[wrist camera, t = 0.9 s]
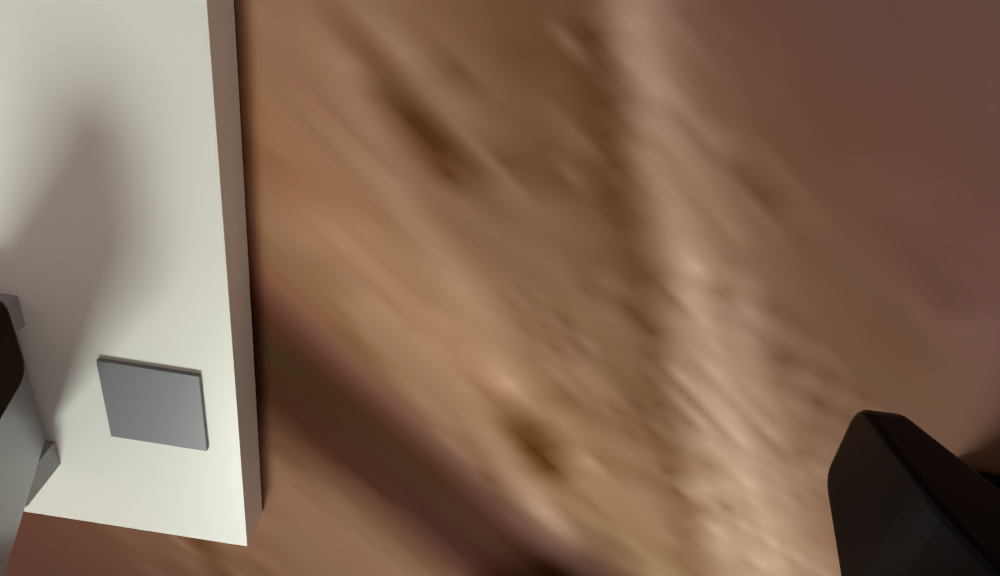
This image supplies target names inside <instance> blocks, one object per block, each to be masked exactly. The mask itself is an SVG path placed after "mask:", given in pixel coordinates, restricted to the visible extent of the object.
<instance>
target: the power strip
mask: <svg viewBox="0 0 1000 576" xmlns="http://www.w3.org/2000/svg"><path fill="white" fill-rule="evenodd" d="M0 300H1V301H3V302H4V304H5V305H6V306H7V307H8V309H9V312H10V315H11V318H12V321H13V325H14V328H15V331H16V334H17V337H19V341H20V345H21V348H22V352H23V356H24V360H25V363H26V367H27V371H28V375H29V379H30V382H31V386H32V390H33V394H34V397H35V401H36V405H37V409H38V413H39V416H40V420H41V424H42V428H43V431H44V435H45V442H44V445H43V449H42V452H41V455H40V458H39V462H38V465H37V468H36V472H35V475H34V478H33V482H32V485H31V488H30V492H29V495H28V498H27V501H26V505H25V508H24V511H25V512H32V513H38V514H44V515H51V516H57V517H64V518H70V519H76V520H83V521H89V522H96V523H102V524H108V525H115V526H121V527H128V528H134V529H140V530H147V531H153V532H160V533H166V534H172V535H179V536H185V537H192V538H198V539H204V540H211V541H217V542H224V543H230V544H236V545H243V546H248V543H249V541H250V539H251V537H252V534H253V532H254V530H255V528H256V525H257V523H258V521H259V519H260V516H261V514H262V497H261V479H260V461H259V443H258V425H257V407H256V389H255V371H254V354H253V336H252V318H251V300H250V282H249V264H248V246H247V228H246V210H245V193H244V175H243V157H242V139H241V121H240V103H239V85H238V67H237V50H236V32H235V14H234V0H0Z"/></svg>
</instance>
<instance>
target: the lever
mask: <svg viewBox="0 0 1000 576" xmlns="http://www.w3.org/2000/svg"><path fill="white" fill-rule="evenodd" d="M17 338H18V341H19V337H17ZM19 344H20V341H19ZM20 347H21V345H20ZM21 351H22V348H21ZM22 354H23V352H22ZM23 357H24V356H23ZM24 362H25V360H24ZM44 442H45V435H44V431H43V428H42V424H41V420H40V416H39V413H38V409H37V405H36V401H35V397H34V394H33V390H32V386H31V382H30V379H29V375H28V371H27V367H26V363H25V370H24V376H23V379H22V382H21V384H20V386H19V388H18V390H17V392H16V393H15V395H14V397H13V398H12V400H11V402H10V404H9V405H8V407H7V409H6V411H5V412H4V414H3V416H2V417H1V419H0V576H4V574H5V571H6V568H7V564H8V561H9V558H10V554H11V551H12V548H13V544H14V541H15V538H16V534H17V531H18V528H19V525H20V521H21V518H22V515H23V511H24V508H25V505H26V501H27V498H28V495H29V492H30V488H31V485H32V482H33V478H34V475H35V472H36V468H37V465H38V462H39V458H40V455H41V452H42V449H43V445H44Z"/></svg>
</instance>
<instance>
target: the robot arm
mask: <svg viewBox="0 0 1000 576" xmlns="http://www.w3.org/2000/svg"><path fill="white" fill-rule="evenodd" d="M24 370H25V362H24V357H23V354H22V351H21V347H20V344H19V341H18V338H17V334H16V331H15V328H14V325H13V321H12V318H11V315H10V312H9V309H8V307H7V306H6V305H5V304H4V302H3V301H1V300H0V419H1V417H2V416H3V414H4V412H5V411H6V409H7V407H8V405H9V404H10V402H11V400H12V398H13V397H14V395H15V393H16V392H17V390H18V388H19V386H20V384H21V382H22V379H23V376H24ZM828 495H829V501H830V507H831V513H832V520H833V526H834V532H835V538H836V545H837V551H838V557H839V563H840V569H841V576H1000V476H998V475H991V474H985V473H979V472H976V471H975V470H973V469H972V468H971V467H969V466H968V465H967V464H966V463H964V462H963V461H962V460H960V459H959V458H958V457H957V456H955V455H954V454H953V453H951V452H950V451H949V450H948V449H946V448H945V447H944V446H942V445H941V444H940V443H939V442H937V441H936V440H935V439H933V438H932V437H931V436H930V435H928V434H927V433H926V432H924V431H923V430H922V429H921V428H919V427H918V426H917V425H915V424H914V423H913V422H912V421H910V420H909V419H908V418H906V417H905V416H902V415H900V414H895V413H887V412H879V411H872V410H863V411H860V412H858V413H857V414H856V415H855V416H854V417H853V419H852V421H851V422H850V424H849V427H848V429H847V431H846V433H845V435H844V437H843V440H842V442H841V444H840V446H839V448H838V450H837V453H836V455H835V457H834V459H833V461H832V463H831V466H830V469H829V473H828Z"/></svg>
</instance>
